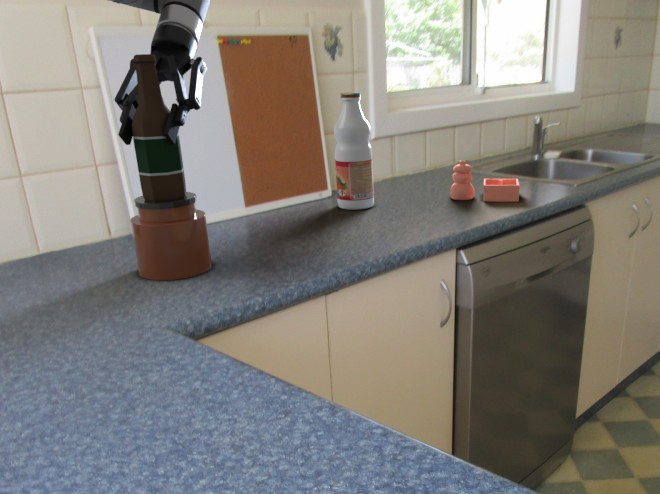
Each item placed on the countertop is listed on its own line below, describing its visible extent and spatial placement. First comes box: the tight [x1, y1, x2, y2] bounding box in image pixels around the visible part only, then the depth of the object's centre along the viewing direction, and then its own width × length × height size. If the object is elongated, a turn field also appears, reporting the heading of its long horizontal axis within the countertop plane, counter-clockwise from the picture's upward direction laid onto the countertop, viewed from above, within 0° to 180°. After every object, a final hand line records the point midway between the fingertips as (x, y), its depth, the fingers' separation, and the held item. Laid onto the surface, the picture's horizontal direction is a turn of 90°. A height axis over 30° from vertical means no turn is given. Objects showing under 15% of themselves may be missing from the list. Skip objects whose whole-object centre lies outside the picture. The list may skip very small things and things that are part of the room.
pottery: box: [449, 159, 520, 202], centre depth 175 cm, size 18×10×10 cm, turn 83°
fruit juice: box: [333, 91, 375, 211], centre depth 166 cm, size 9×9×28 cm
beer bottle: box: [132, 53, 187, 201], centre depth 115 cm, size 8×8×24 cm
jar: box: [129, 191, 213, 281], centre depth 121 cm, size 13×13×14 cm
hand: (146, 139), depth 112 cm, fingers closed on beer bottle, 7 cm apart
